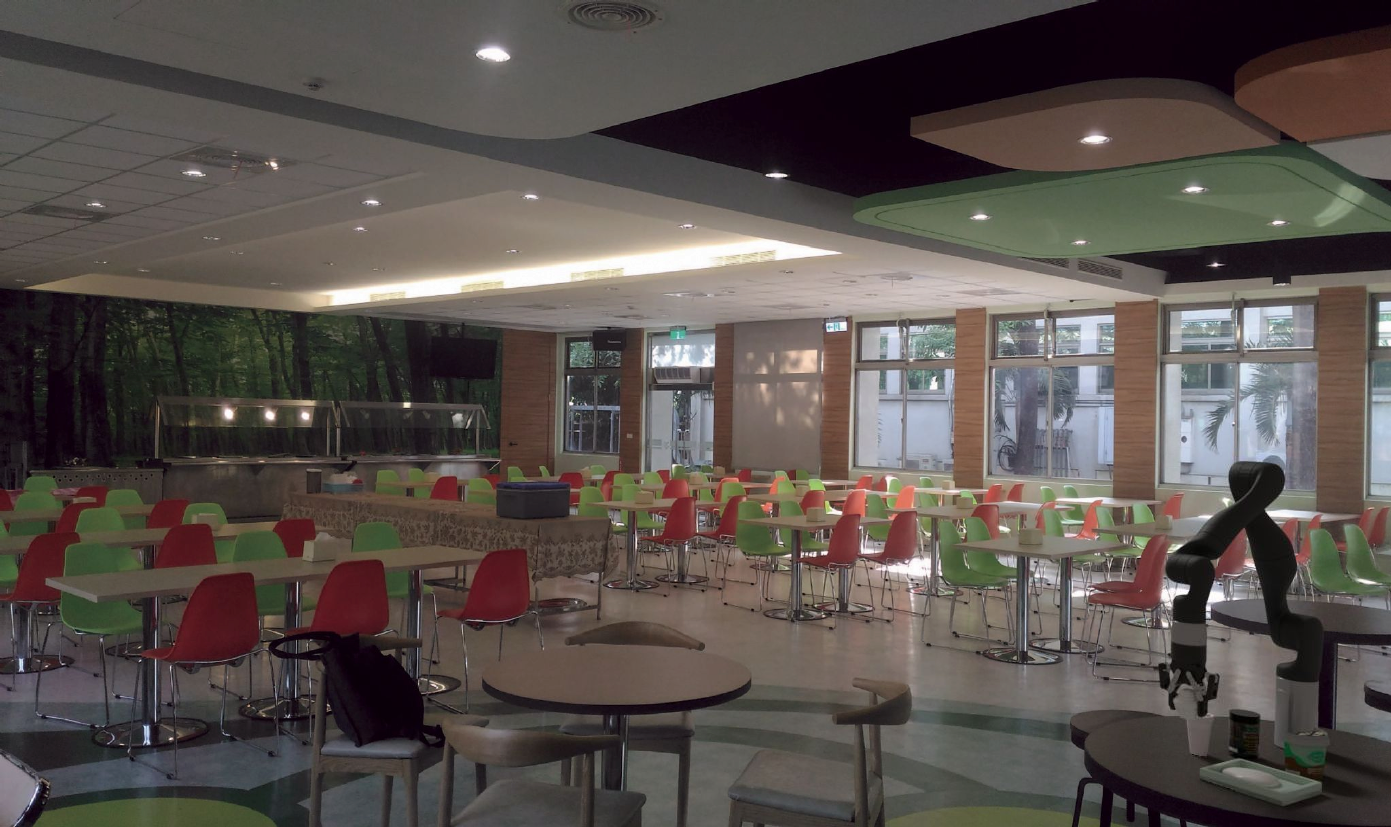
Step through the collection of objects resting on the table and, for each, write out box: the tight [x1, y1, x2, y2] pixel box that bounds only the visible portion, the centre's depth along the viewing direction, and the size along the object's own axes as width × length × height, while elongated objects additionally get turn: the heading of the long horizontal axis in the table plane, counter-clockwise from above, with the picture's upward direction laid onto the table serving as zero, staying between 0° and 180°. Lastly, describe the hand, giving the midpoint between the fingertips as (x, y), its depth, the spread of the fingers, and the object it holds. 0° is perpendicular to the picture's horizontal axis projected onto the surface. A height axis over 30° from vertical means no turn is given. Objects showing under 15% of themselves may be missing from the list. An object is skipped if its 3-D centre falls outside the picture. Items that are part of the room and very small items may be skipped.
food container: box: [1282, 727, 1331, 781], centre depth 230 cm, size 12×6×10 cm, turn 117°
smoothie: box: [1186, 712, 1215, 757], centre depth 244 cm, size 6×6×14 cm
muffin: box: [1173, 687, 1199, 721], centre depth 235 cm, size 6×6×7 cm
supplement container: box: [1227, 708, 1262, 761], centre depth 244 cm, size 7×7×10 cm
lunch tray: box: [1199, 758, 1323, 807], centre depth 222 cm, size 16×18×2 cm
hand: (1187, 712), depth 235 cm, fingers closed on muffin, 6 cm apart
